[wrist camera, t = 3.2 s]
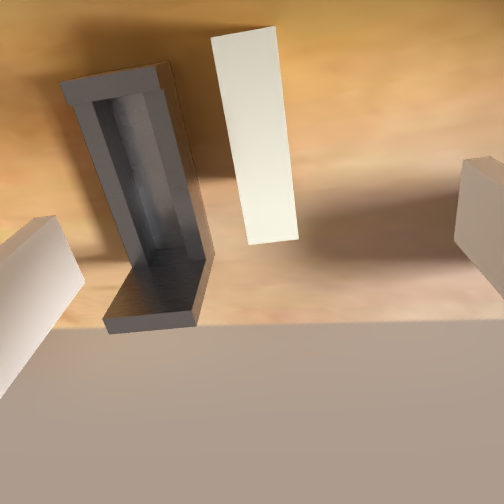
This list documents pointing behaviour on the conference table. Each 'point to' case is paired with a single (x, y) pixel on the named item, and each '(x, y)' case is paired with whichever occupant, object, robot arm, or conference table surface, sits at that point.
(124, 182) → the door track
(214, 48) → the door panel
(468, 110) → the conference table surface
